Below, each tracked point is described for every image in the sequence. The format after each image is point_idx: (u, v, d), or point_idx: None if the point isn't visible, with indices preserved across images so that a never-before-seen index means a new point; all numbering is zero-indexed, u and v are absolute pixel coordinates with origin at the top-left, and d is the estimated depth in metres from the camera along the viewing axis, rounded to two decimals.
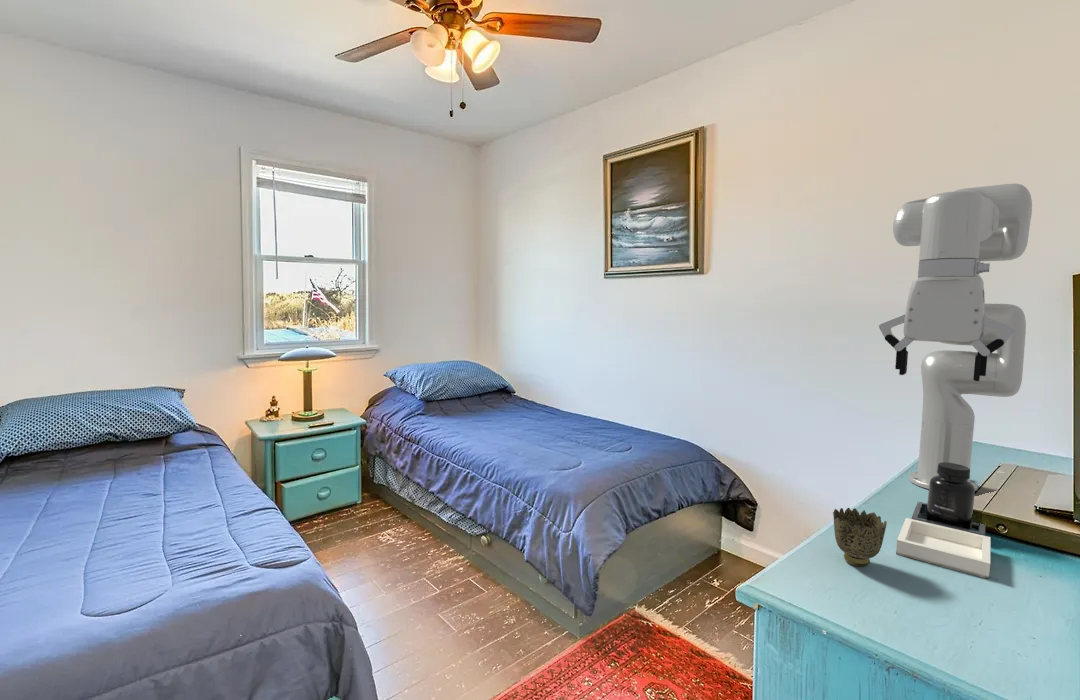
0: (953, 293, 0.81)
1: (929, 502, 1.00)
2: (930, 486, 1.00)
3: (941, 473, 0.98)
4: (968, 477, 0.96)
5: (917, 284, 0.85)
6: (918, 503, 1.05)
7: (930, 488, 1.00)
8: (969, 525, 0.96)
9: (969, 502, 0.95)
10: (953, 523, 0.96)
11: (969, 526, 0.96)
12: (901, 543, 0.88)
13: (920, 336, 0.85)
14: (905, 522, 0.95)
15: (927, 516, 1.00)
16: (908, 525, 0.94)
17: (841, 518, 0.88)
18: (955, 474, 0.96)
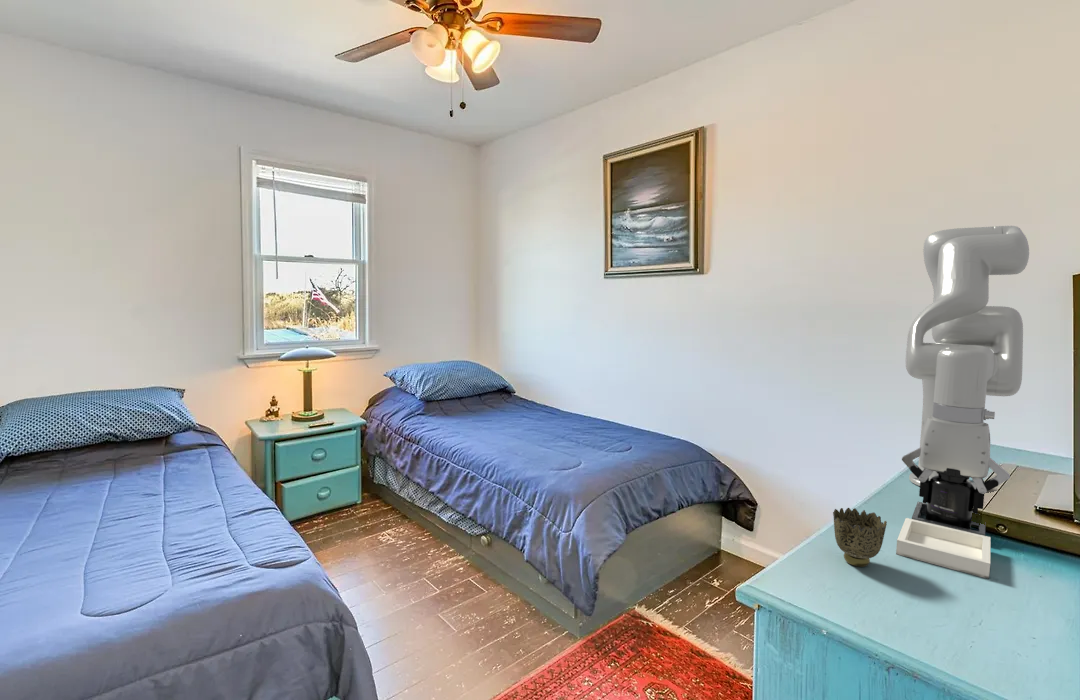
0: (963, 436, 0.95)
1: (929, 502, 1.00)
2: (930, 486, 1.00)
3: (941, 473, 0.98)
4: (968, 477, 0.96)
5: (932, 423, 0.98)
6: (918, 503, 1.05)
7: (930, 488, 1.00)
8: (969, 525, 0.96)
9: (968, 502, 0.95)
10: (952, 523, 0.96)
11: (969, 526, 0.96)
12: (901, 543, 0.88)
13: (934, 468, 0.98)
14: (905, 522, 0.95)
15: (926, 516, 1.00)
16: (908, 525, 0.94)
17: (841, 518, 0.88)
18: (955, 474, 0.96)
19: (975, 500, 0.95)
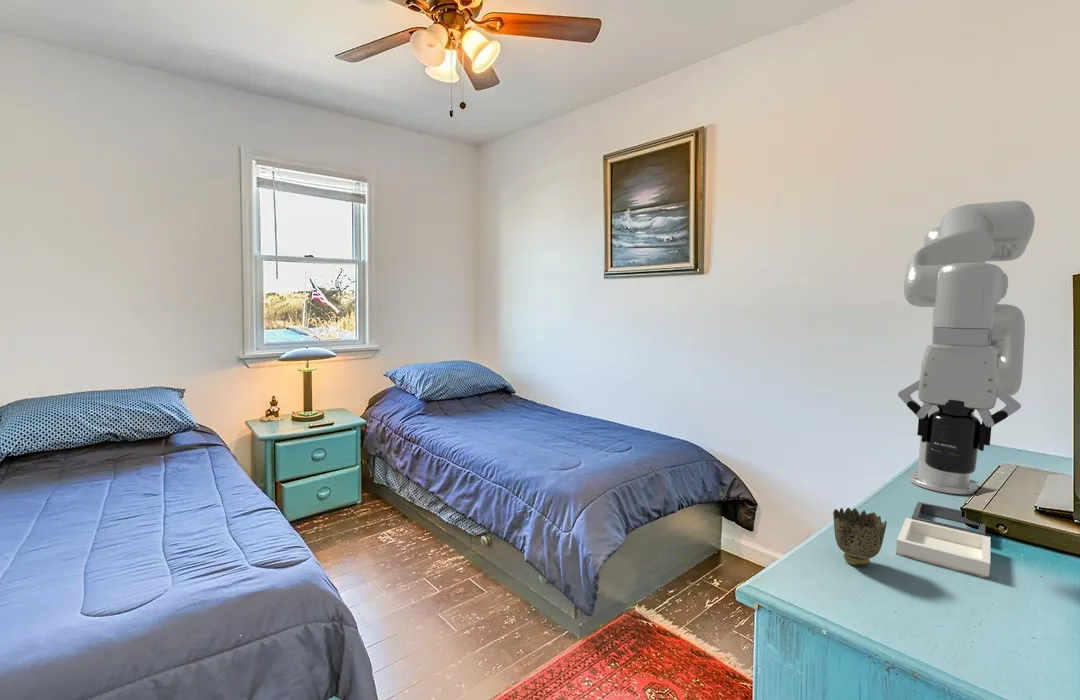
0: (967, 361, 0.83)
1: (928, 440, 0.88)
2: (929, 422, 0.88)
3: (942, 406, 0.86)
4: (972, 409, 0.85)
5: (932, 350, 0.86)
6: (918, 503, 1.05)
7: (929, 424, 0.88)
8: (974, 464, 0.85)
9: (973, 437, 0.84)
10: (955, 461, 0.85)
11: (974, 465, 0.85)
12: (901, 543, 0.88)
13: (935, 401, 0.87)
14: (905, 522, 0.95)
15: (926, 457, 0.89)
16: (908, 525, 0.94)
17: (841, 518, 0.88)
18: (958, 406, 0.85)
19: (981, 435, 0.84)
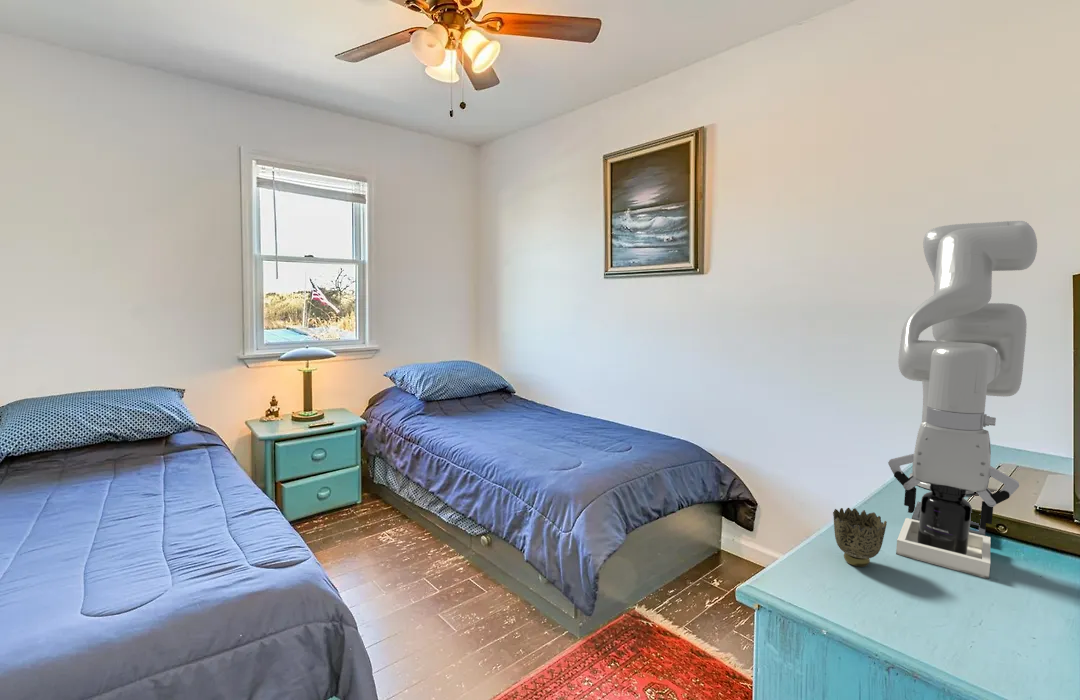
0: (960, 444, 0.85)
1: (921, 522, 0.90)
2: (922, 504, 0.90)
3: (934, 490, 0.88)
4: (964, 495, 0.86)
5: (925, 430, 0.88)
6: (918, 503, 1.05)
7: (922, 506, 0.90)
8: (965, 548, 0.86)
9: (965, 523, 0.85)
10: (947, 546, 0.86)
11: (965, 549, 0.86)
12: (901, 543, 0.88)
13: (928, 480, 0.88)
14: (905, 522, 0.95)
15: (918, 537, 0.90)
16: (908, 525, 0.94)
17: (841, 518, 0.88)
18: (950, 491, 0.86)
19: (983, 514, 0.84)
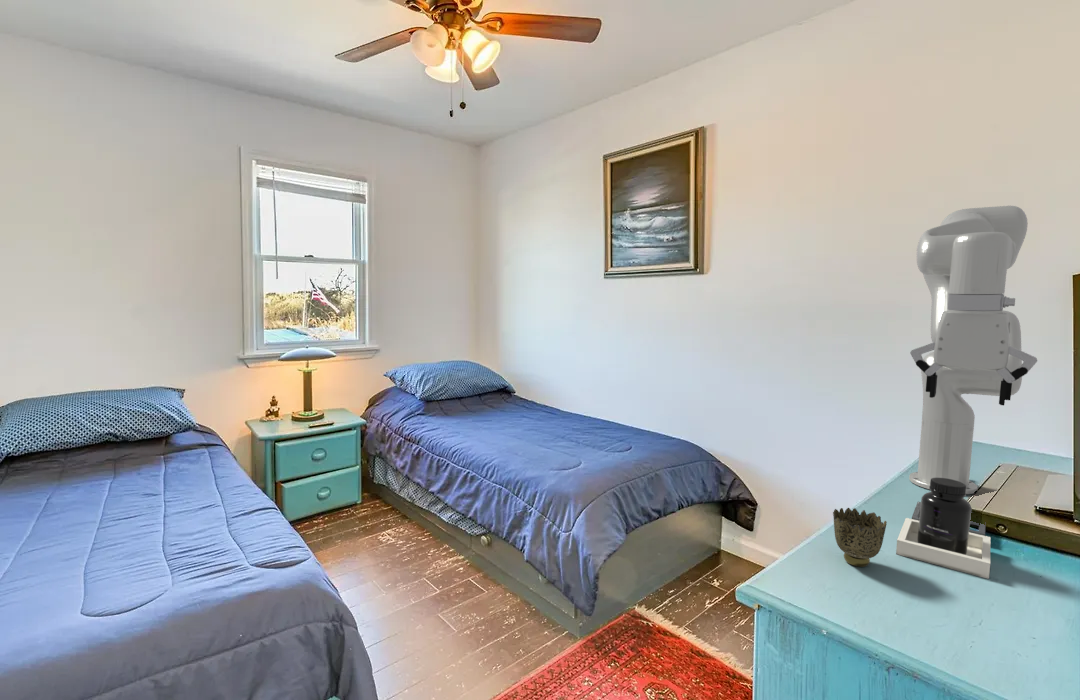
0: (981, 325, 0.89)
1: (921, 522, 0.90)
2: (922, 504, 0.90)
3: (934, 490, 0.88)
4: (964, 494, 0.86)
5: (947, 316, 0.92)
6: (918, 503, 1.05)
7: (922, 506, 0.90)
8: (965, 548, 0.86)
9: (965, 523, 0.85)
10: (947, 546, 0.86)
11: (965, 549, 0.86)
12: (901, 543, 0.88)
13: (949, 363, 0.93)
14: (905, 522, 0.95)
15: (918, 538, 0.90)
16: (908, 525, 0.94)
17: (841, 518, 0.88)
18: (949, 491, 0.86)
19: (1002, 390, 0.89)
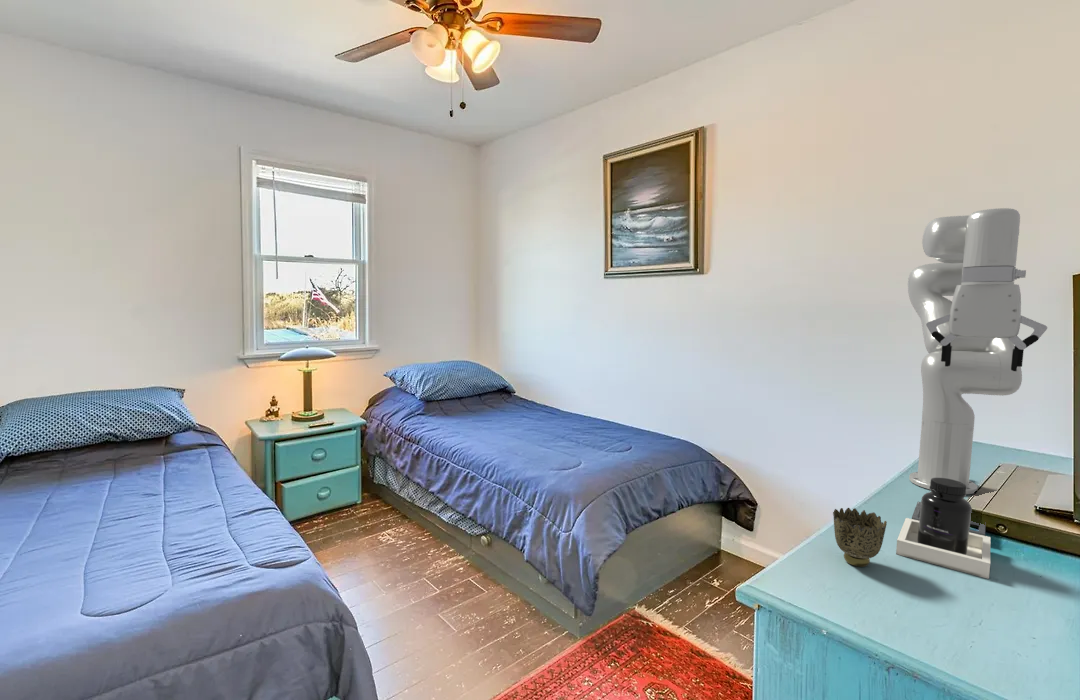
0: (994, 296, 0.95)
1: (921, 522, 0.90)
2: (922, 504, 0.90)
3: (934, 490, 0.88)
4: (964, 495, 0.86)
5: (961, 288, 0.98)
6: (918, 503, 1.05)
7: (922, 506, 0.90)
8: (965, 548, 0.86)
9: (965, 523, 0.85)
10: (947, 546, 0.86)
11: (965, 549, 0.86)
12: (901, 543, 0.88)
13: (964, 333, 0.98)
14: (905, 522, 0.95)
15: (918, 537, 0.90)
16: (908, 525, 0.94)
17: (841, 518, 0.88)
18: (950, 491, 0.86)
19: (1014, 357, 0.94)
